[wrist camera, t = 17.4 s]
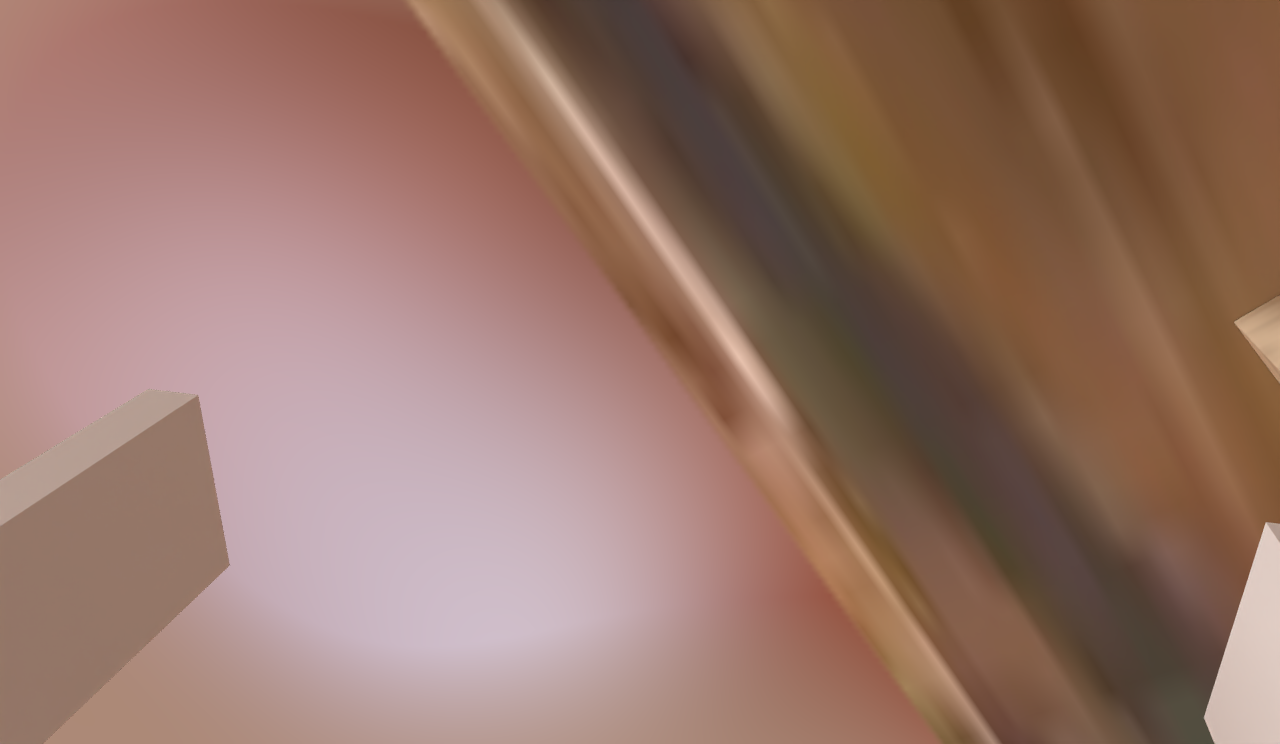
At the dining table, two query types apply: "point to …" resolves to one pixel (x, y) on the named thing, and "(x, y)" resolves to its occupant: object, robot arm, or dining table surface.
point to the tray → (1264, 333)
